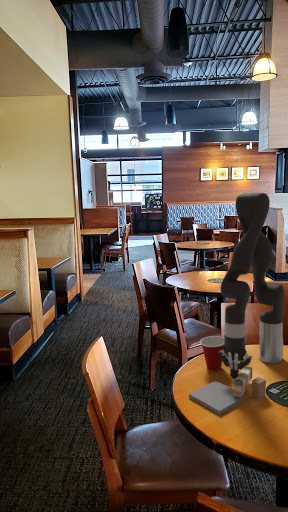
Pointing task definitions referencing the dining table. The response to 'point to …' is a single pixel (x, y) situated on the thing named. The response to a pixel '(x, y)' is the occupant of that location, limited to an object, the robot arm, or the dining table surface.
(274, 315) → the robot arm
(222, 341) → the plastic cup
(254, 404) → the dining table surface
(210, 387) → the grey slab beige block
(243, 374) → the folding leg
